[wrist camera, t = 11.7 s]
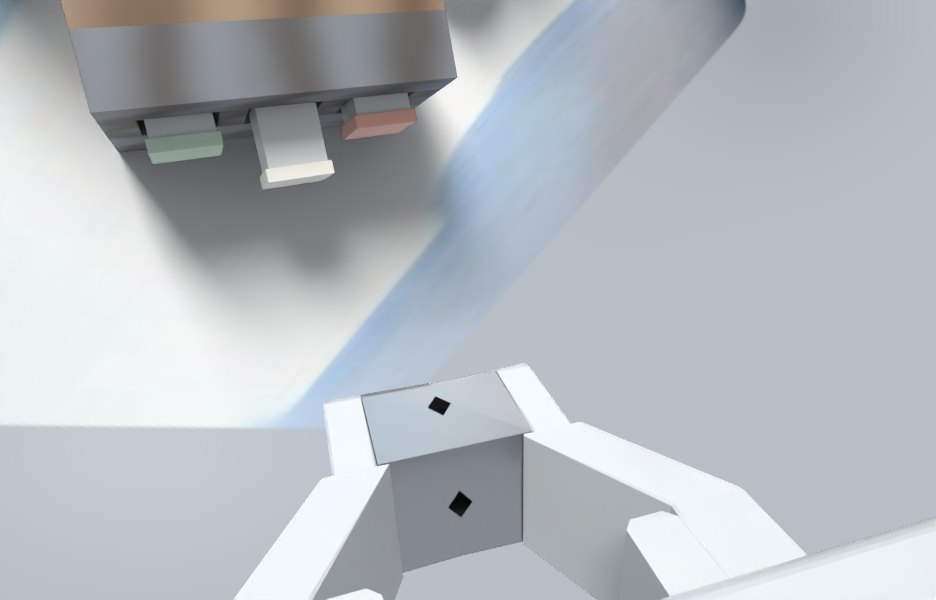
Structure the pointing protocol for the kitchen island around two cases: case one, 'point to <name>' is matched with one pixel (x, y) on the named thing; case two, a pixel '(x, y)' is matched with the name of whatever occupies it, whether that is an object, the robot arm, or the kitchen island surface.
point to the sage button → (182, 138)
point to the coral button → (376, 115)
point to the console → (251, 58)
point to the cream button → (290, 145)
